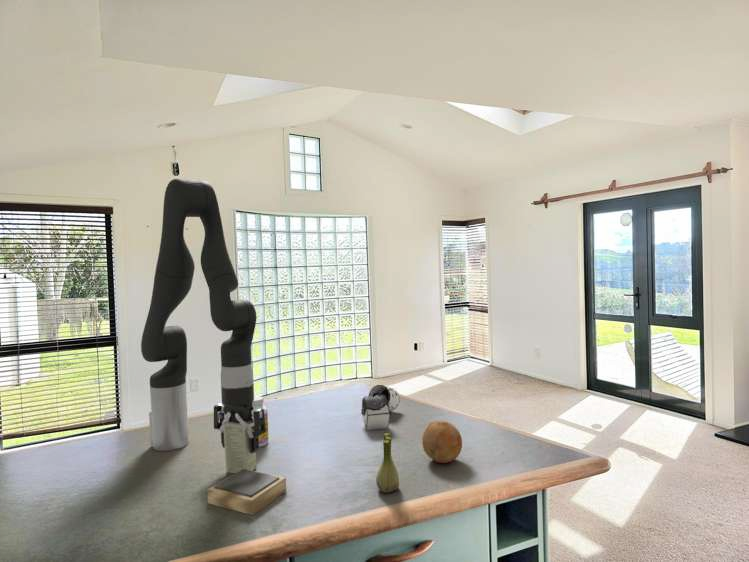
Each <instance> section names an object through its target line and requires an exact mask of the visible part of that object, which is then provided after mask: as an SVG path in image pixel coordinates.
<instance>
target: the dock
mask: <svg viewBox="0 0 749 562" xmlns="http://www.w3.org/2000/svg"><path fill="white" fill-rule="evenodd" d="M206 490H207V503H208V504H210V505H213V506H217V507H220V508H221V507H222V508H224V509H228V510H232V511H235V512H239V513H244V514H248V515H251V516H253V515H255V514H256V513H258V512H259V511H260V510H262V509H263V508H265V507H266V506H267V505H269V504H270V503H272V502H273V501H274V499H275V500H276V499H278V498H279V497H280V496H282V495H283V494H285V493H286V492H287V478H286V477H283V476H280V475H275V474H270V473H265V472H261V471H257V470H253V471H252V470H247V469H242V470H240V471H239V472H237V473H232V474H231V475H230V476H229V477H226V478H224V479H223V480H221V481H219V482H217V483H216V484H214V485H212V486H210V487H209V488H207V489H206ZM285 491H286V492H285ZM284 492H285V493H284ZM282 493H283V494H282ZM281 494H282V495H281ZM278 496H279V497H278ZM277 497H278V498H277Z"/></svg>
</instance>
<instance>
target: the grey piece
mask: <svg viewBox="0 0 749 562" xmlns="http://www.w3.org/2000/svg"><path fill="white" fill-rule="evenodd" d="M400 401H401V396H400V394H399V392H398V391H397V390H396V389H394V388H392V387H390V386H387V385H384V384H377V385H374V386H373V387H372V388H371V389H370V391H369V393H368V396H363V397H362V399H361V410H360V411H361V412H360V414H361V415H362V418H363V424H364V428H365V431H375V430H385V429H389V425H390V424H389V422H390V418H391V417H390V416H391V412H393V411H395V410H396V409H397V408H399V407H398V406H399V404H400Z"/></svg>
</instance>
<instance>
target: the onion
mask: <svg viewBox="0 0 749 562" xmlns="http://www.w3.org/2000/svg"><path fill="white" fill-rule="evenodd" d="M421 441H422V448H423V451H424V453H425V454H426V455H427V457H428V458H430V459H431V460H433V461H434V462H437V463H441V464H446V463H450V462H453V461H454V460H456V459H457V458H458V457H459V455H460V453H461V452H462V448H463V437H462V435H461V433H460V431H459V430H458V428H457V427H456V426H455V425H454V424H452V423H451V422H449V421H446V420H436V421H431V422H430V423H429V424H428V425H427V427H426V429H425V430H424V432H423V435H422V440H421Z"/></svg>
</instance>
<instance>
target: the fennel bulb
mask: <svg viewBox="0 0 749 562" xmlns="http://www.w3.org/2000/svg"><path fill="white" fill-rule="evenodd" d="M391 436H392V435H391V433H390V432H386V433H384V434H383V445H382V446H383V458H382V459H383V460H382V461H381V464H380V467H379V468H378V472H377V474H376V477H375V481H376V486H377V489H379V491H380V492H381V493H385V494H387V493H388V494H389V493H392V492H394V491H396V490H398V488H399V487H400V482H399V481H400V480H399V479H400V478H399V473H398V469H397V468H396V467H397V466H396V465H395V463H394V461H393V457H392V437H391Z"/></svg>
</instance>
